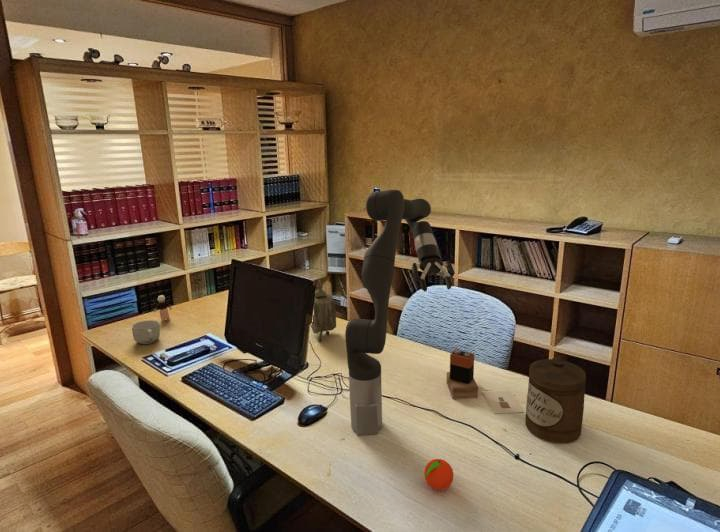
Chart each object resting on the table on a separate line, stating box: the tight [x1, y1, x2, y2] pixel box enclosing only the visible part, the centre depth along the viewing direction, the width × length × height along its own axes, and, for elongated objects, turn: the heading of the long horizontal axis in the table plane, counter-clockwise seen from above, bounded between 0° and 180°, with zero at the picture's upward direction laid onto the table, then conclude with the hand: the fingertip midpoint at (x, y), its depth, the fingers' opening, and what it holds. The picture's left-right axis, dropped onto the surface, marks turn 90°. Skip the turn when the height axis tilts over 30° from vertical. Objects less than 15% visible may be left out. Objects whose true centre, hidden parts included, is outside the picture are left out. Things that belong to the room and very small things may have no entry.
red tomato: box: [423, 458, 454, 491], centre depth 113 cm, size 8×7×7 cm
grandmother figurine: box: [153, 294, 173, 323], centre depth 221 cm, size 8×4×13 cm, turn 130°
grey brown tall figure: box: [310, 278, 337, 342], centre depth 198 cm, size 14×9×25 cm, turn 17°
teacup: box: [130, 319, 161, 345], centre depth 199 cm, size 14×11×8 cm
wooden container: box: [525, 356, 587, 445], centre depth 132 cm, size 15×15×22 cm
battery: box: [449, 348, 475, 384], centre depth 154 cm, size 4×7×10 cm, turn 57°
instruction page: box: [482, 390, 524, 415], centre depth 148 cm, size 12×9×1 cm
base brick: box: [446, 371, 479, 400], centre depth 155 cm, size 10×8×4 cm
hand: (437, 289), depth 160 cm, fingers open, 8 cm apart
